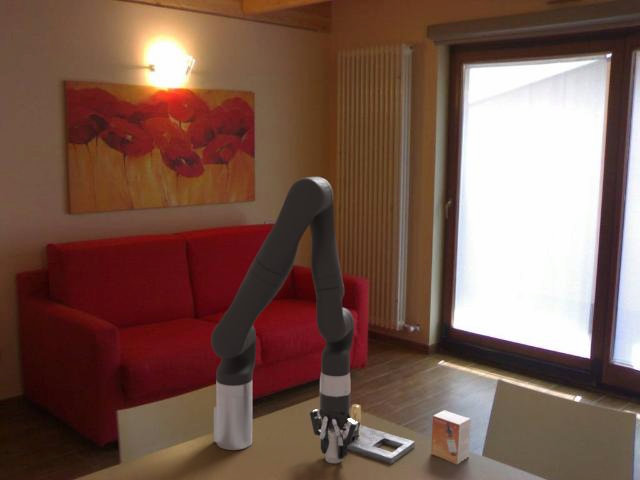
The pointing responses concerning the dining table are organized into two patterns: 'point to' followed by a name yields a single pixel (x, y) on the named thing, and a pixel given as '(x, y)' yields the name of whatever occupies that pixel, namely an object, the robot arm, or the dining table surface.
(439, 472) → the dining table surface
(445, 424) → the small box
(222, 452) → the dining table surface
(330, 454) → the rook chess piece
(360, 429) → the bolt plate
